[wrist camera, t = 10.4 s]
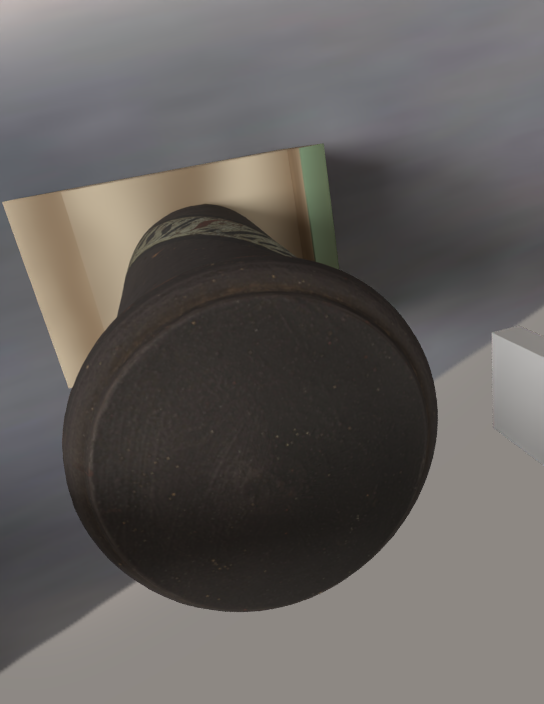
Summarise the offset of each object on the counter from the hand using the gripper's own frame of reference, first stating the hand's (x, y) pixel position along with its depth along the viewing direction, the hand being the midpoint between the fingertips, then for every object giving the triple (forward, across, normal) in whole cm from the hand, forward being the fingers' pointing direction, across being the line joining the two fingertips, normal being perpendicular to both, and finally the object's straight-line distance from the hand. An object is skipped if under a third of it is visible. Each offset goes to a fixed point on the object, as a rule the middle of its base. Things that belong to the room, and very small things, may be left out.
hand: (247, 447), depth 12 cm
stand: (+25, -1, 0) cm, 25 cm away
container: (+18, +1, 0) cm, 19 cm away
